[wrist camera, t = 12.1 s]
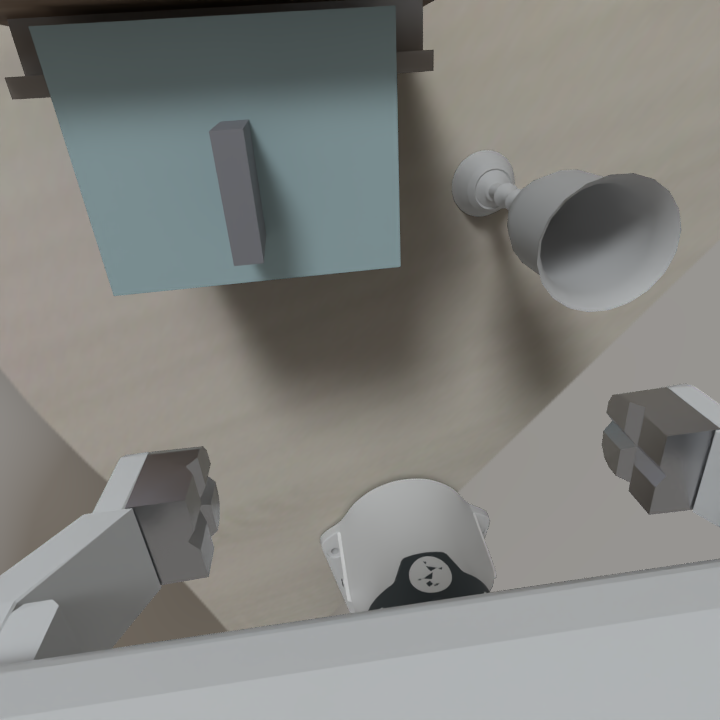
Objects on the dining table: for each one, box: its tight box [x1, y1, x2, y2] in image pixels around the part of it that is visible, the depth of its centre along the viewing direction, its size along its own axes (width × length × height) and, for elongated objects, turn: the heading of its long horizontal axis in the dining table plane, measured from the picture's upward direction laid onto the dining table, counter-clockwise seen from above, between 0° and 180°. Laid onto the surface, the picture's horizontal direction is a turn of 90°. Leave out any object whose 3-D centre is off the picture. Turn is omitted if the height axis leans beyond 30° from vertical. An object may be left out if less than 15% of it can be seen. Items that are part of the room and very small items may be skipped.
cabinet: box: [29, 6, 401, 296], centre depth 26 cm, size 11×14×15 cm
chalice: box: [452, 150, 681, 312], centre depth 33 cm, size 7×7×18 cm
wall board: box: [0, 0, 434, 99], centre depth 25 cm, size 6×20×20 cm, turn 94°
